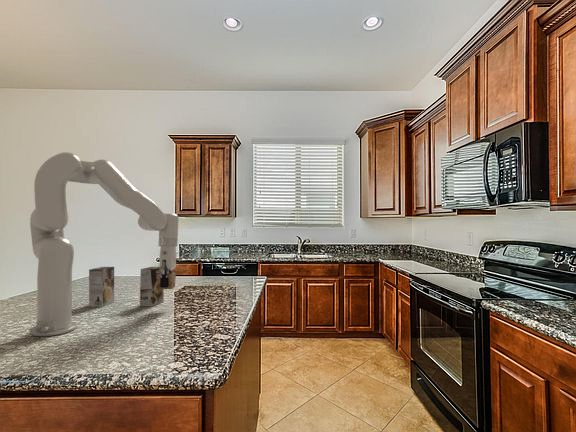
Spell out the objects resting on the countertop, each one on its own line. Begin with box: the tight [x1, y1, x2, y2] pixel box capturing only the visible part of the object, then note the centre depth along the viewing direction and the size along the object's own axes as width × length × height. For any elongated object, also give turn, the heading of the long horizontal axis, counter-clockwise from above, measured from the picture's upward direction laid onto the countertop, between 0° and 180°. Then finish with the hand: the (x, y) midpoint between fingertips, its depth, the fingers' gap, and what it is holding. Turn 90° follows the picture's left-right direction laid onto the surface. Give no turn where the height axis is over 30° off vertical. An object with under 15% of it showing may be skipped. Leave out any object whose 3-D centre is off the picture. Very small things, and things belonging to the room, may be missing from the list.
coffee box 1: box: [88, 266, 115, 308], centre depth 148 cm, size 9×6×16 cm
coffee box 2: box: [139, 266, 165, 308], centre depth 148 cm, size 9×6×16 cm
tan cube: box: [157, 272, 177, 290], centre depth 140 cm, size 6×6×6 cm
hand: (166, 285), depth 140 cm, fingers closed on tan cube, 5 cm apart
